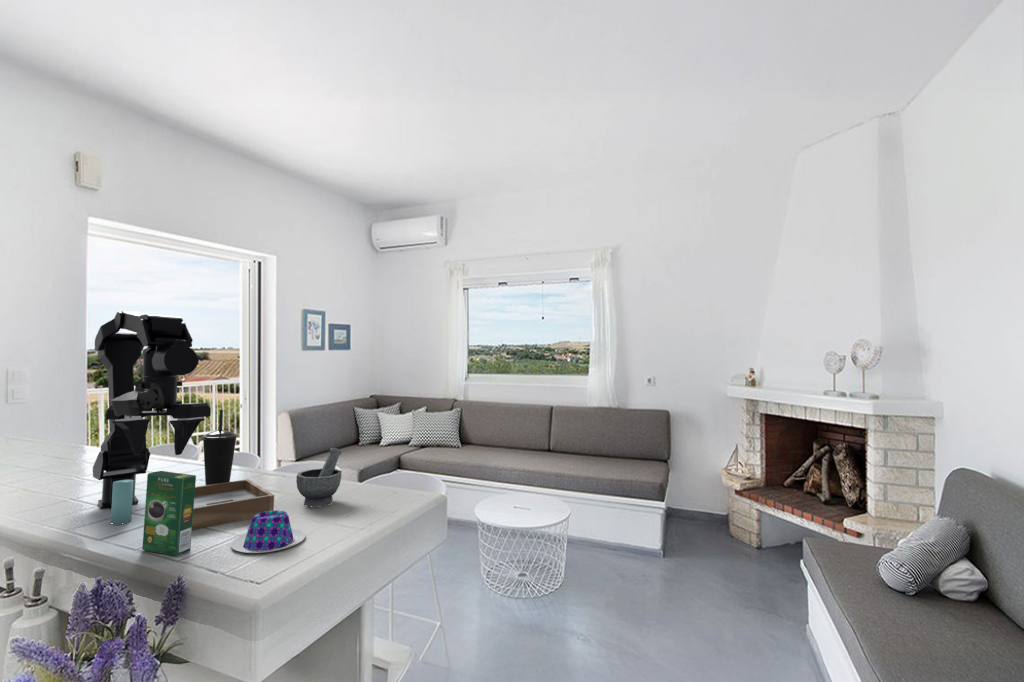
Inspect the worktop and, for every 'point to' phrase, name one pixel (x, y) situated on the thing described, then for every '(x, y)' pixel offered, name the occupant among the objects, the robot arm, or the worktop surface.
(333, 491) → the mortar and pestle
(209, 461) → the drinking cup
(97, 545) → the worktop surface
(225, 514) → the insert box
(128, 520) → the peg
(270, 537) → the patterned hat
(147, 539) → the coffee box
